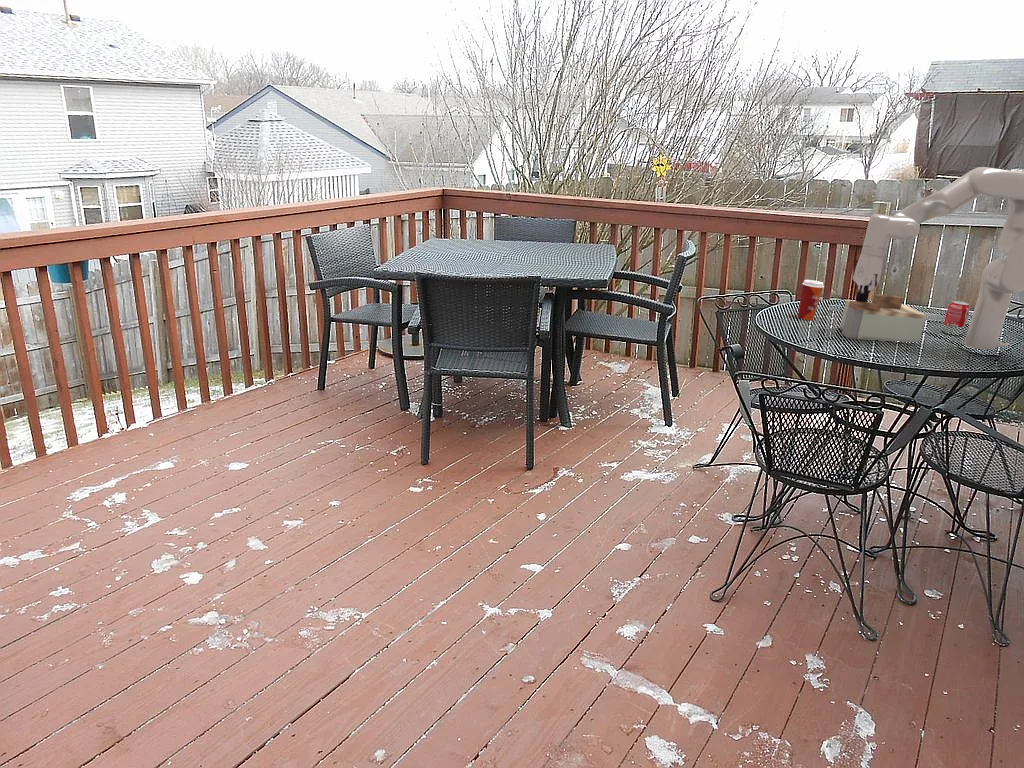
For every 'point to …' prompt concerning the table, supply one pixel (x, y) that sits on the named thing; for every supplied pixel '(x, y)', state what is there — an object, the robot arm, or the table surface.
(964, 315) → the soda can
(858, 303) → the wooden block
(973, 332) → the robot arm
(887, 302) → the lid
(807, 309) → the paper cup
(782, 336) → the table surface
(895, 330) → the toolbox
